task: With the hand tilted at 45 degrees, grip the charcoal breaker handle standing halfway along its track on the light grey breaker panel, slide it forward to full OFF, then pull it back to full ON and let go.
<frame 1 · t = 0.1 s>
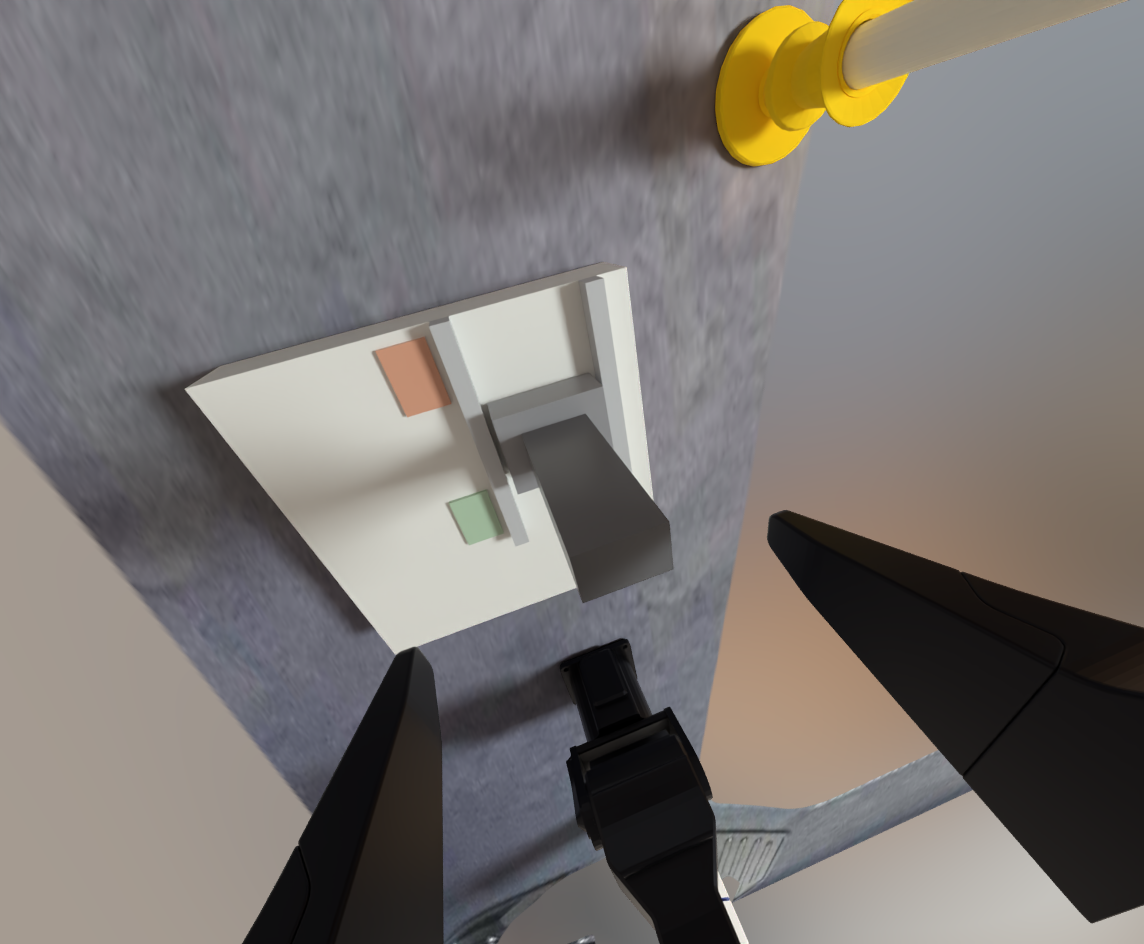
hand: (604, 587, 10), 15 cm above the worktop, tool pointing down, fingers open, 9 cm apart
breaker panel: (484, 468, 24), on the worktop
candle: (763, 95, 18), on the worktop
cylindrical container: (650, 781, 55), on the worktop
breaker handle: (576, 476, 16), point 8 cm above the worktop, slide at 4.0 cm
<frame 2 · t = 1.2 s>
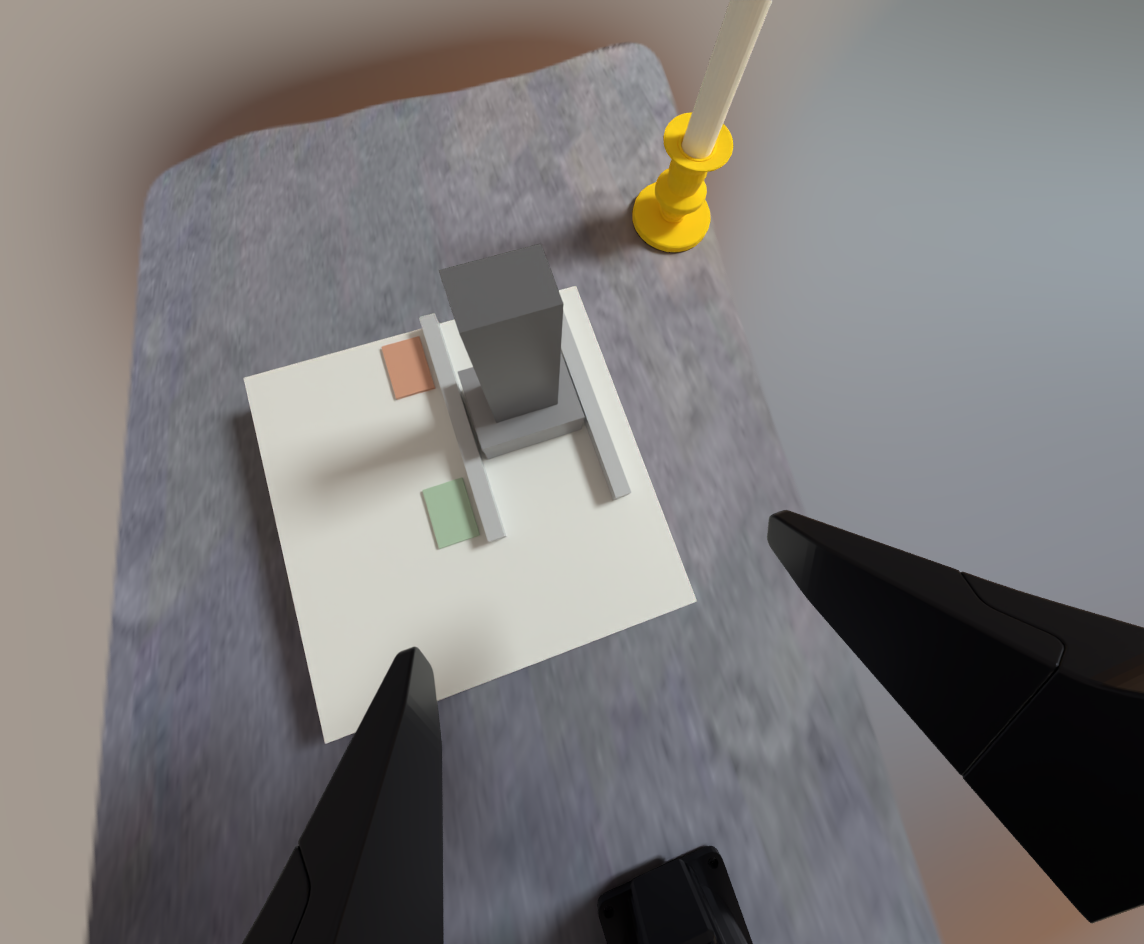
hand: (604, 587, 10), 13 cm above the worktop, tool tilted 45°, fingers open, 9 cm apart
breaker panel: (476, 495, 23), on the worktop
candle: (669, 221, 28), on the worktop
breaker handle: (515, 366, 16), point 8 cm above the worktop, slide at 4.0 cm
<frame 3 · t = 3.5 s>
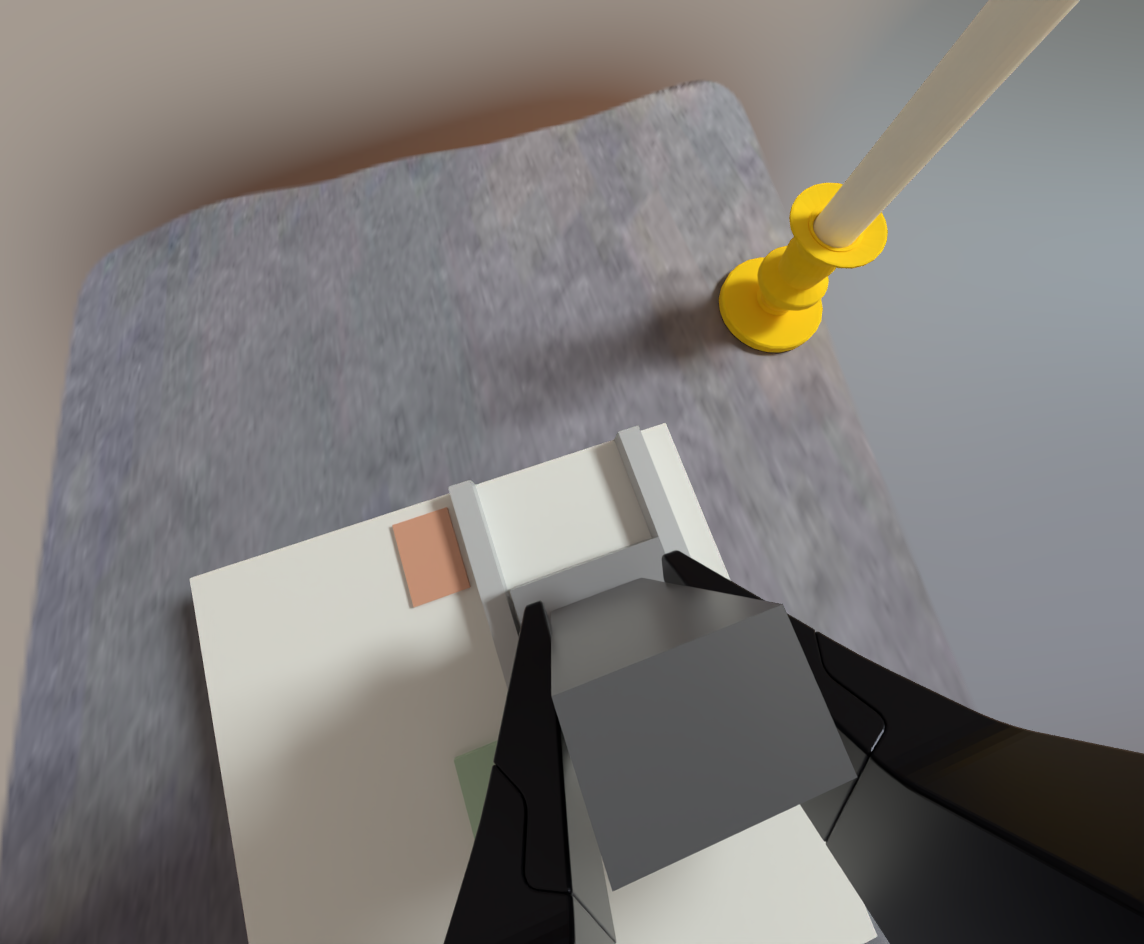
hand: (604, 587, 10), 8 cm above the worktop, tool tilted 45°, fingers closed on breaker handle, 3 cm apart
breaker panel: (524, 715, 16), on the worktop
candle: (765, 309, 21), on the worktop
breaker handle: (625, 646, 10), point 8 cm above the worktop, slide at 4.0 cm, touching gripper
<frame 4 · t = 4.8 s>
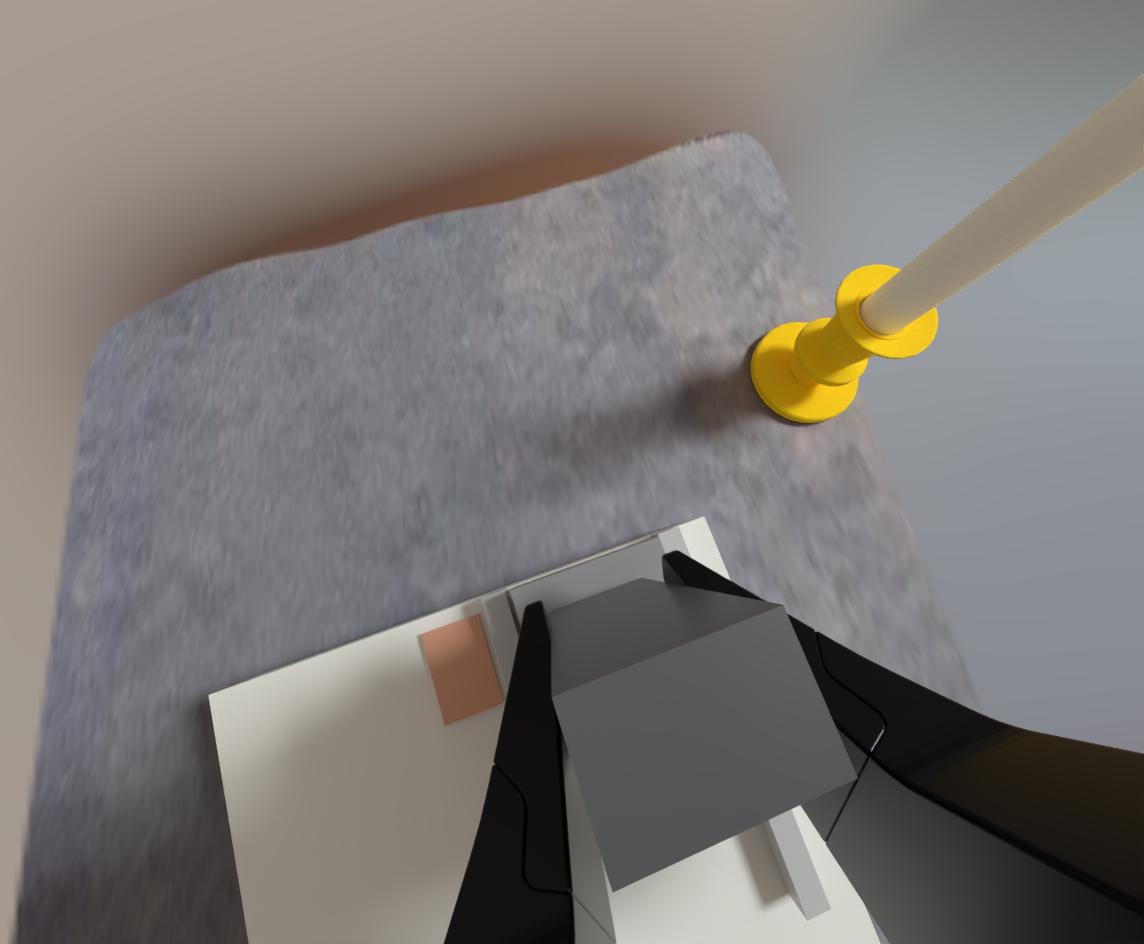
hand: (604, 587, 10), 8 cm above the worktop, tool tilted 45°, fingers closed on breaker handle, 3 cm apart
breaker panel: (555, 821, 16), on the worktop
candle: (798, 376, 21), on the worktop
breaker handle: (625, 646, 10), point 8 cm above the worktop, slide at 7.9 cm, touching gripper
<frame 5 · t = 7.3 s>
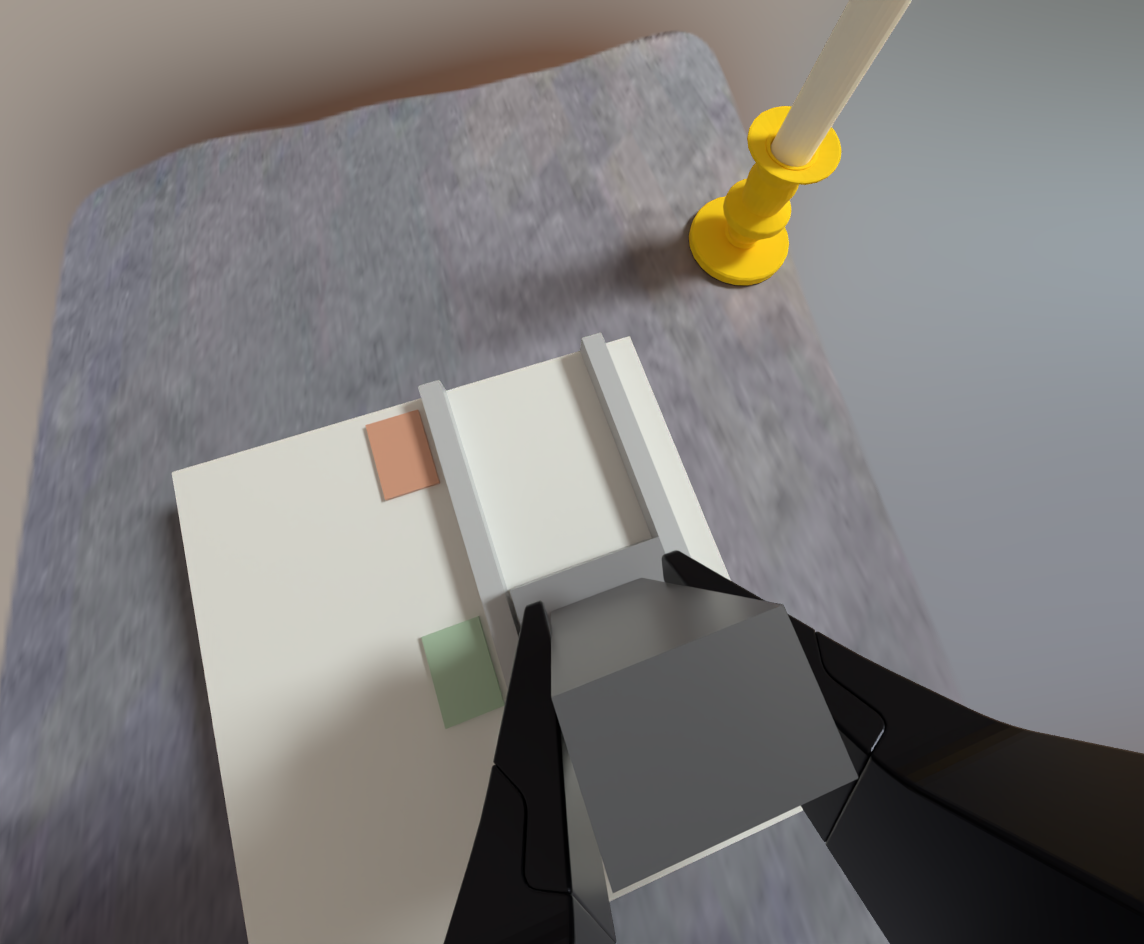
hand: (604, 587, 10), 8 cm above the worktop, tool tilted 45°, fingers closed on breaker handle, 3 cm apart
breaker panel: (494, 618, 17), on the worktop
candle: (734, 246, 22), on the worktop
breaker handle: (625, 646, 10), point 8 cm above the worktop, slide at 0.0 cm, touching gripper
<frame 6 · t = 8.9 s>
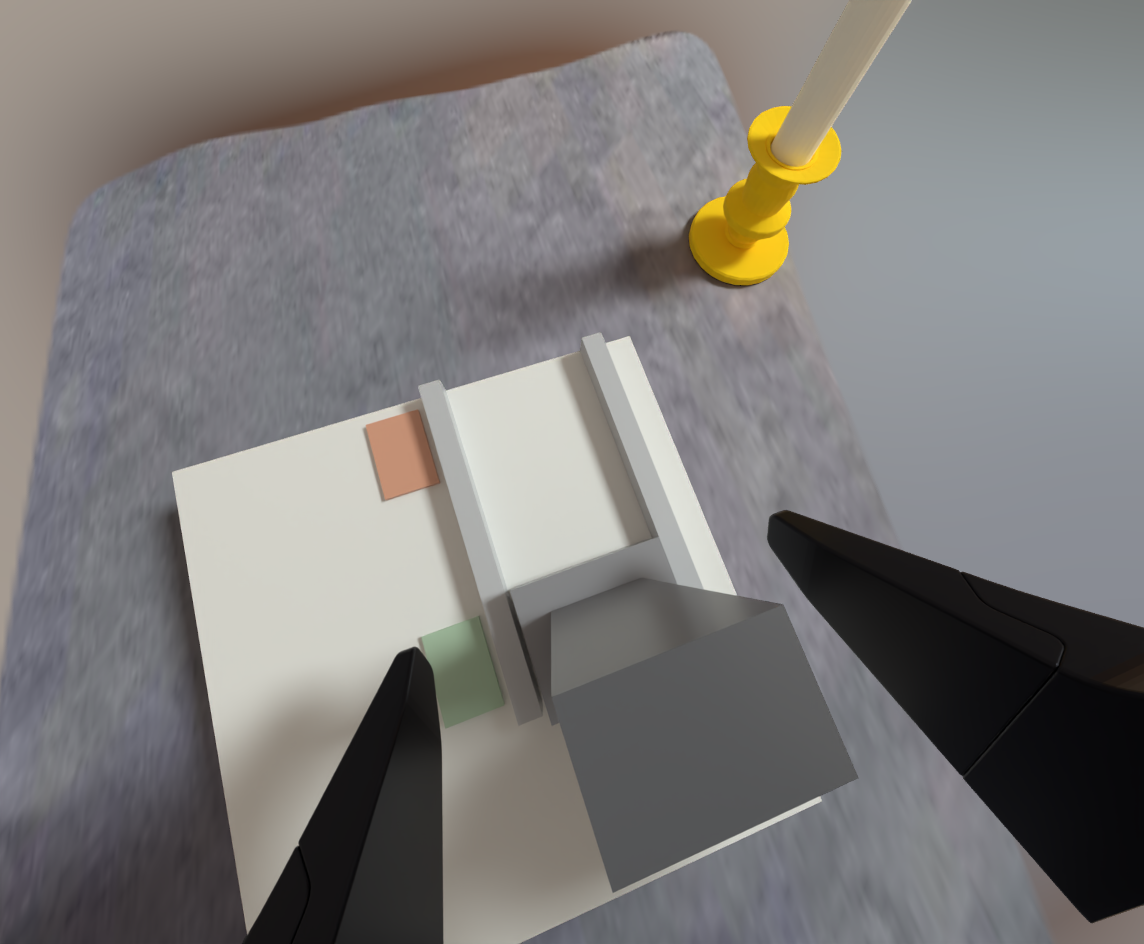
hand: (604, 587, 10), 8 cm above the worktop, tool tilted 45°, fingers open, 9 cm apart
breaker panel: (494, 617, 17), on the worktop
candle: (734, 246, 22), on the worktop
breaker handle: (625, 646, 10), point 8 cm above the worktop, slide at 0.0 cm
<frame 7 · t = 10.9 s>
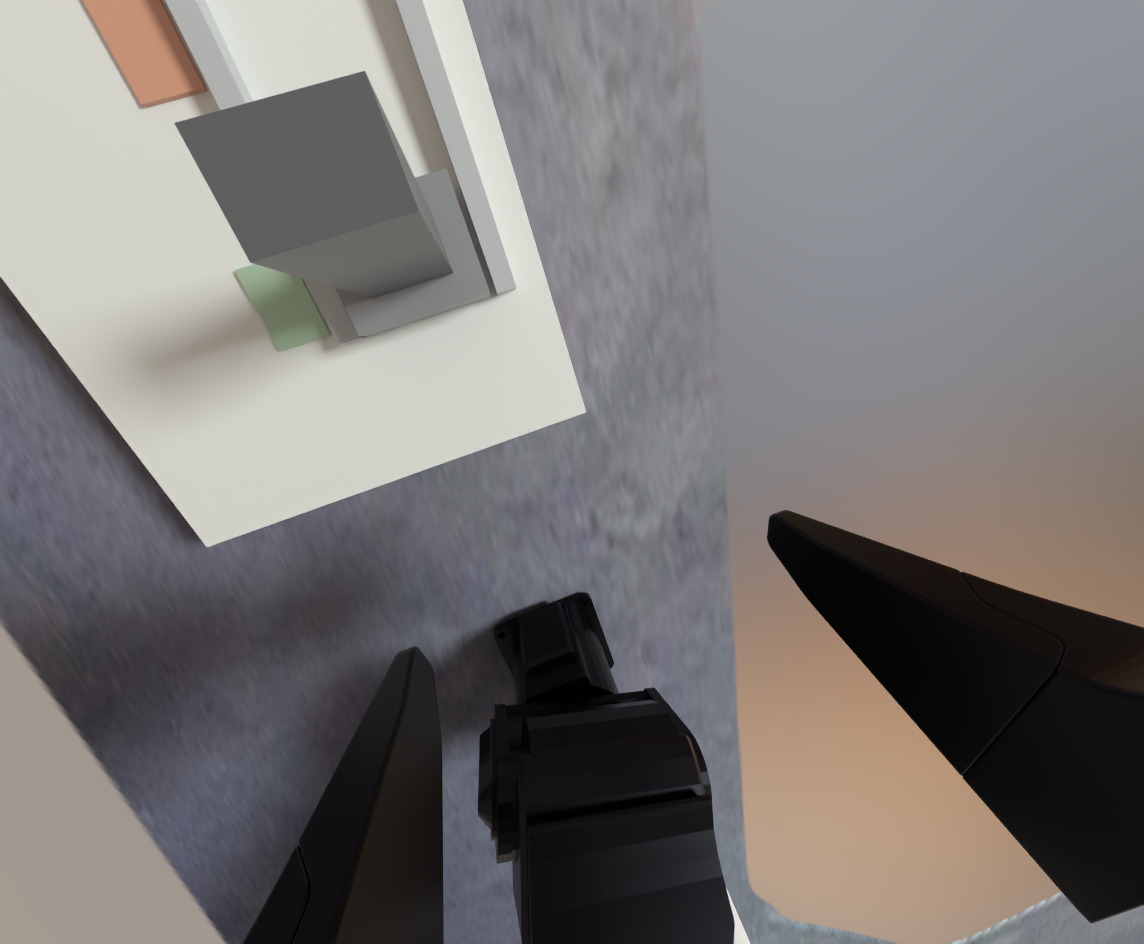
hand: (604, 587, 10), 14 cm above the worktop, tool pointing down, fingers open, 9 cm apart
breaker panel: (326, 278, 18), on the worktop
cylindrical container: (675, 865, 39), on the worktop
breaker handle: (379, 236, 11), point 8 cm above the worktop, slide at 0.0 cm
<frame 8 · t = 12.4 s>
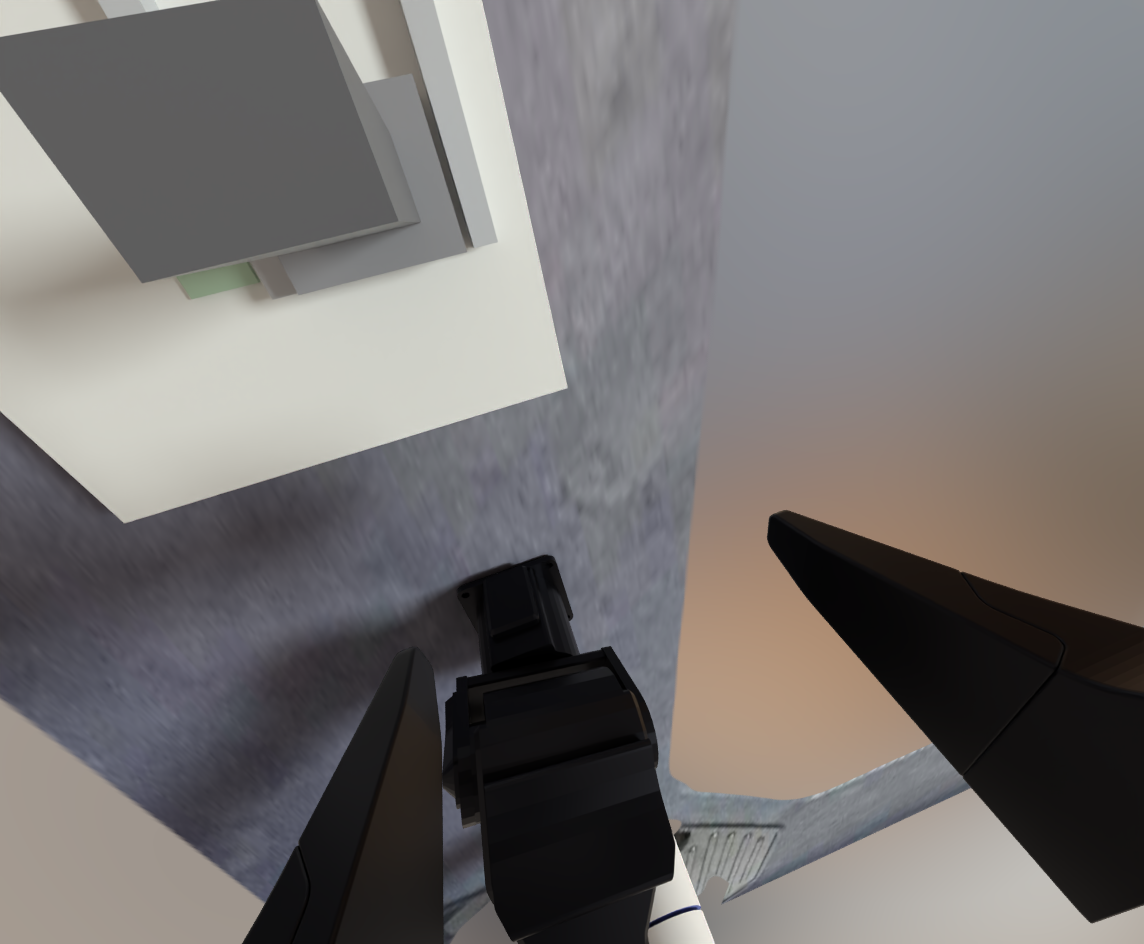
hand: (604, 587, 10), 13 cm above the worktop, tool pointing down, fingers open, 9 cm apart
breaker panel: (246, 194, 14), on the worktop
cylindrical container: (611, 763, 45), on the worktop
breaker handle: (325, 184, 8), point 8 cm above the worktop, slide at 0.0 cm
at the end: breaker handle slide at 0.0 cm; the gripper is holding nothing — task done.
